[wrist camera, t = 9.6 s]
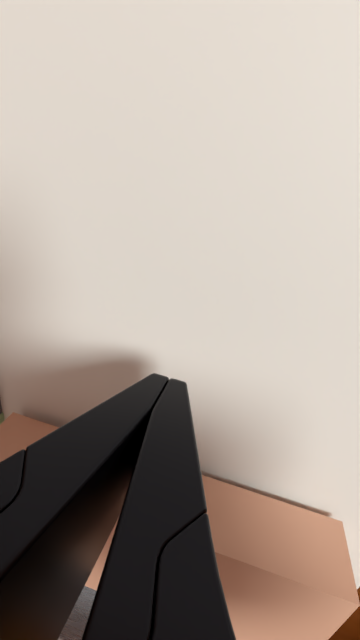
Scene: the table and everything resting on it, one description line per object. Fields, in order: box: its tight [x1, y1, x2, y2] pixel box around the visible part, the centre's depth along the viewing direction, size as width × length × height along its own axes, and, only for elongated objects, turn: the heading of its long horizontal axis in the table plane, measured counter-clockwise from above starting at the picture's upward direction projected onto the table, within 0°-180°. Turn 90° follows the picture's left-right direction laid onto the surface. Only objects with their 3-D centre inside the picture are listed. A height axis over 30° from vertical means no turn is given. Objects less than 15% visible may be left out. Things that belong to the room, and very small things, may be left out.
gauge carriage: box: [0, 412, 360, 640], centre depth 11 cm, size 15×5×2 cm, turn 81°
